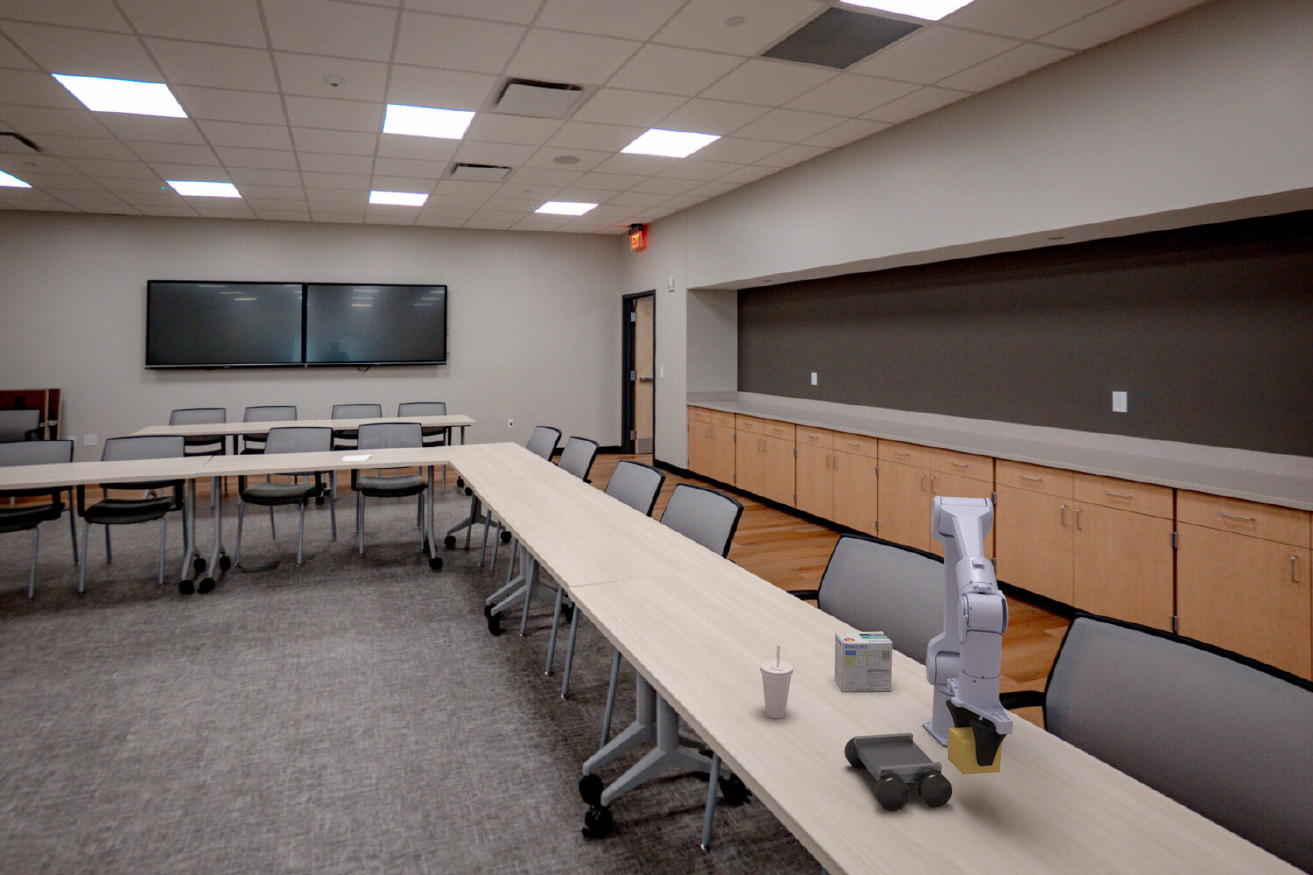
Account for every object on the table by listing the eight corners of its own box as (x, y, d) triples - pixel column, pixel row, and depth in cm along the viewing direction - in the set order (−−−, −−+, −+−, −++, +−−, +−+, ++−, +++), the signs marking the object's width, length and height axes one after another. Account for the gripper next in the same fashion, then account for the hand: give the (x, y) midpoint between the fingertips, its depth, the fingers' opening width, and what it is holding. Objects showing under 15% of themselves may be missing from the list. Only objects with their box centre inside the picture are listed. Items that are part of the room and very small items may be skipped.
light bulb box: (881, 678, 158) (883, 630, 157) (892, 692, 151) (894, 642, 150) (832, 678, 158) (834, 630, 157) (841, 692, 151) (843, 642, 150)
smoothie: (767, 723, 138) (768, 652, 136) (753, 708, 144) (755, 639, 142) (798, 719, 139) (799, 648, 138) (783, 704, 146) (785, 636, 144)
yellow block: (983, 756, 115) (984, 726, 115) (999, 772, 111) (1001, 740, 110) (947, 758, 114) (948, 728, 114) (962, 774, 110) (964, 743, 109)
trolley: (910, 760, 125) (911, 727, 124) (951, 806, 112) (953, 769, 111) (843, 765, 123) (844, 732, 123) (877, 812, 110) (879, 775, 110)
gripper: (930, 653, 118) (927, 733, 119) (982, 693, 103) (978, 784, 105) (971, 651, 119) (967, 730, 120) (1028, 690, 104) (1023, 780, 106)
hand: (975, 755), depth 112 cm, fingers closed on yellow block, 4 cm apart
